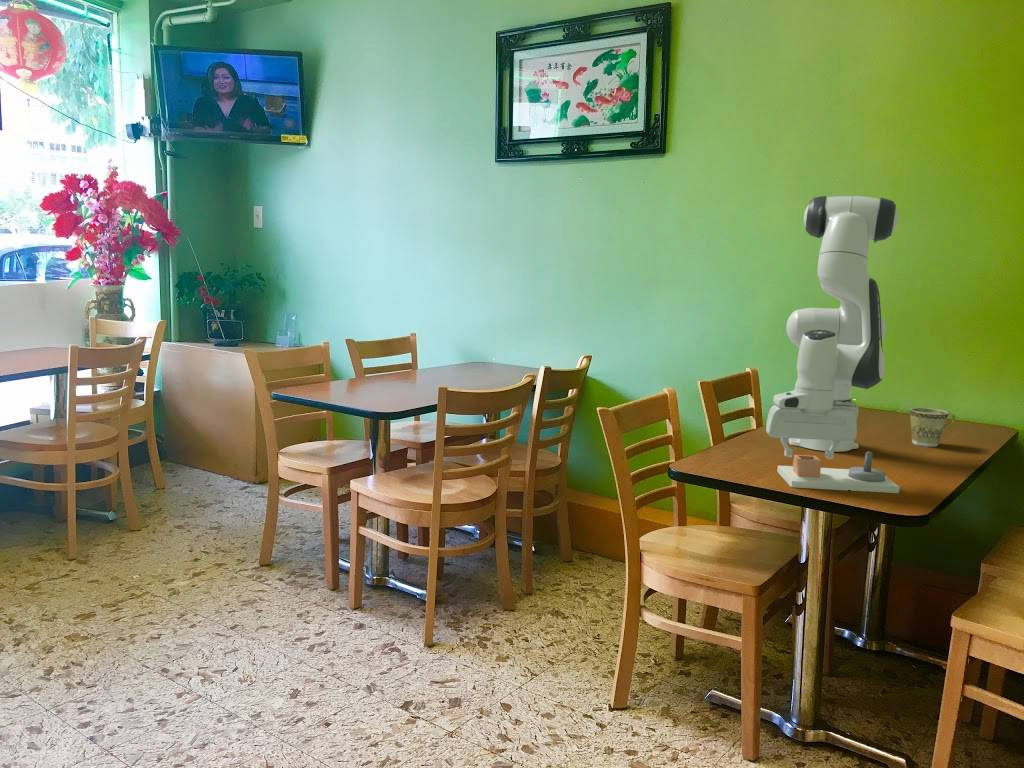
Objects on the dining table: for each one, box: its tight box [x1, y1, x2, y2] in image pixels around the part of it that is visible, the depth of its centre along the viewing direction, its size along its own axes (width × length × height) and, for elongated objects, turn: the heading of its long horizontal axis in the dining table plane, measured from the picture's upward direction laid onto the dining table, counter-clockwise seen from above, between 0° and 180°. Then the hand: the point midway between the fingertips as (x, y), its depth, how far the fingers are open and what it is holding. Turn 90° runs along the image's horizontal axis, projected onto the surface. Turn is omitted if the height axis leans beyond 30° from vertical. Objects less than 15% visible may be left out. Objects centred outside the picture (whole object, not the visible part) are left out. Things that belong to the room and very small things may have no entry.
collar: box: [792, 454, 822, 478], centre depth 193 cm, size 5×5×4 cm
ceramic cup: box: [909, 407, 956, 448], centre depth 236 cm, size 13×10×10 cm
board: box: [776, 451, 901, 494], centre depth 193 cm, size 14×24×8 cm, turn 85°
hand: (808, 457), depth 192 cm, fingers open, 8 cm apart
